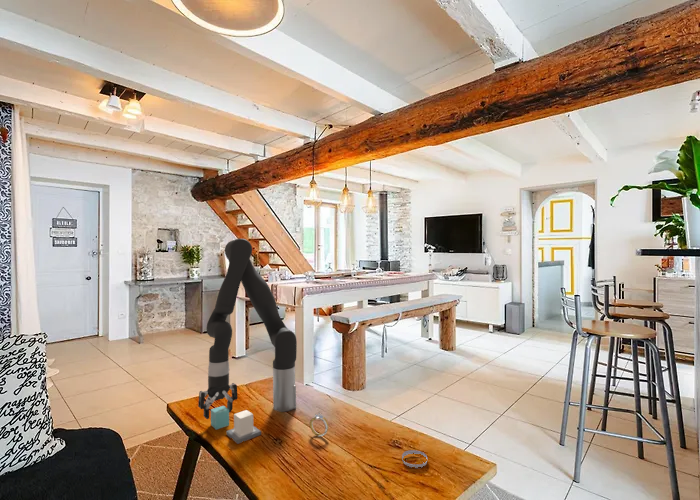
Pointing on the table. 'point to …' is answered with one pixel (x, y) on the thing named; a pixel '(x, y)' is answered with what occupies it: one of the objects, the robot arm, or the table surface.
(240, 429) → the cream brick
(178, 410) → the table surface
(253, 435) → the baseplate
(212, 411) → the teal brick
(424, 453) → the gray circular band
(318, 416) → the ring
